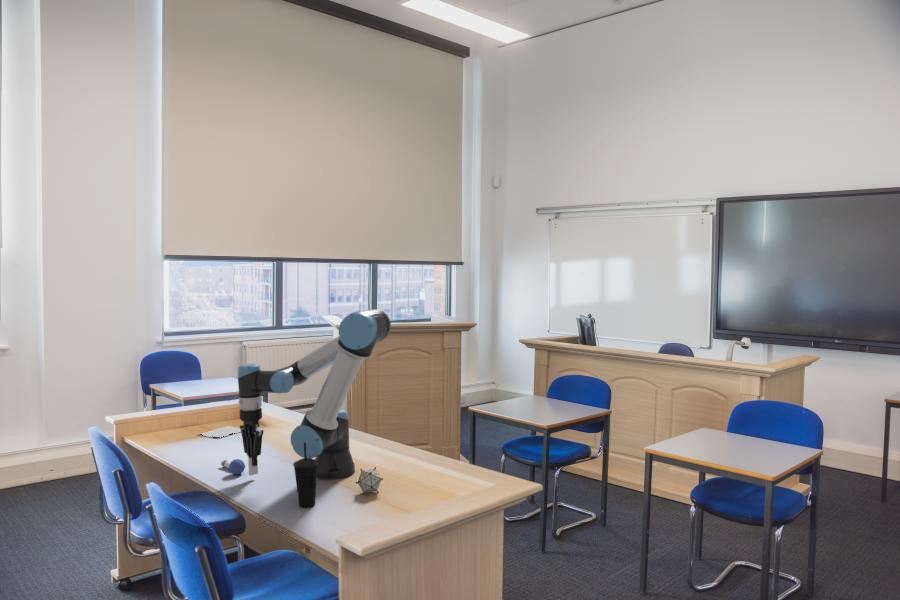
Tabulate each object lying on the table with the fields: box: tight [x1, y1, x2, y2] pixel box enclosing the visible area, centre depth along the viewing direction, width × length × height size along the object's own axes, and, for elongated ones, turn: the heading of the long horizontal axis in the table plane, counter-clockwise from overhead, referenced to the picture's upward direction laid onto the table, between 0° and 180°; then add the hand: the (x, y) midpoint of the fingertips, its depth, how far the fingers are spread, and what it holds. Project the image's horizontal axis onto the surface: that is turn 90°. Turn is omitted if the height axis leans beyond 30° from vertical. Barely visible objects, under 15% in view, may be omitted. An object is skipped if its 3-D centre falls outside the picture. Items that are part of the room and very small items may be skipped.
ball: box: [228, 458, 246, 476], centre depth 241 cm, size 6×6×6 cm
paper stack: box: [200, 425, 241, 439], centre depth 295 cm, size 23×25×1 cm
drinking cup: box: [292, 442, 318, 509], centre depth 209 cm, size 8×8×20 cm
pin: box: [220, 459, 232, 470], centre depth 248 cm, size 2×2×8 cm
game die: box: [355, 466, 384, 496], centre depth 220 cm, size 9×8×10 cm
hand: (253, 474), depth 236 cm, fingers closed
